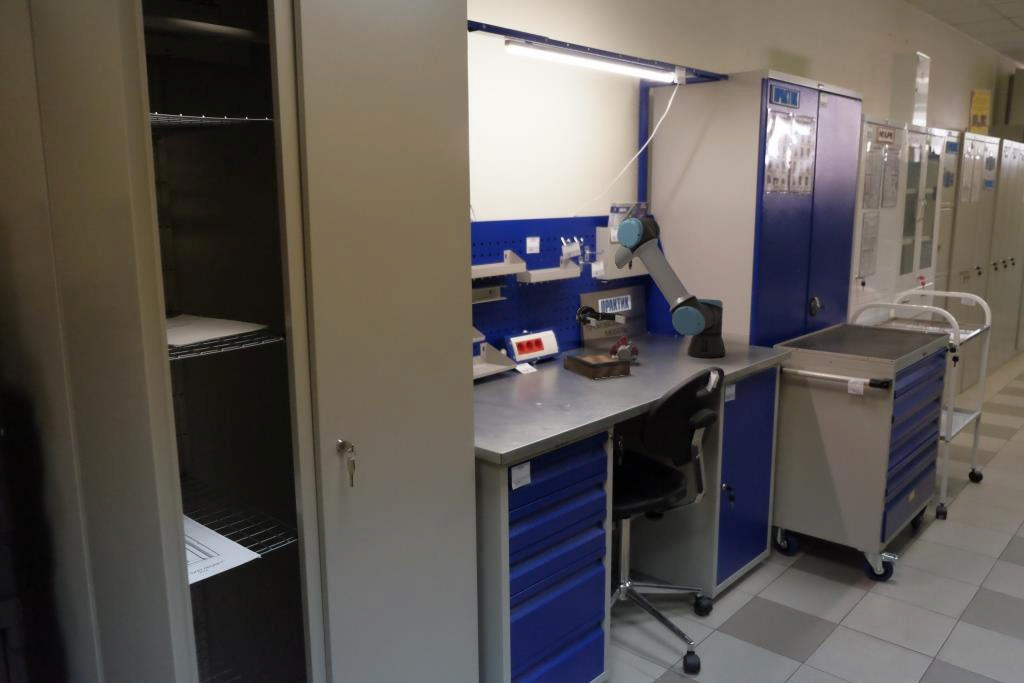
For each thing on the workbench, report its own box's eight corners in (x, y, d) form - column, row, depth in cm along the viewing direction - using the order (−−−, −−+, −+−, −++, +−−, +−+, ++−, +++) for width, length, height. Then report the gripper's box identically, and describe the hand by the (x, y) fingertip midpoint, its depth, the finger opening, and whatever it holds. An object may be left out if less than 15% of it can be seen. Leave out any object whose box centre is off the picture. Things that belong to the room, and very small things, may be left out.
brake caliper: (638, 354, 300) (638, 333, 291) (638, 375, 292) (639, 355, 283) (609, 353, 301) (609, 333, 292) (609, 375, 294) (609, 355, 285)
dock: (599, 363, 294) (599, 349, 293) (629, 374, 275) (630, 360, 274) (563, 367, 288) (563, 353, 287) (591, 379, 268) (591, 364, 267)
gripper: (609, 320, 326) (636, 328, 307) (558, 325, 316) (582, 333, 297) (609, 303, 324) (636, 310, 305) (558, 307, 315) (582, 314, 296)
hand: (610, 321), depth 301 cm, fingers open, 13 cm apart
